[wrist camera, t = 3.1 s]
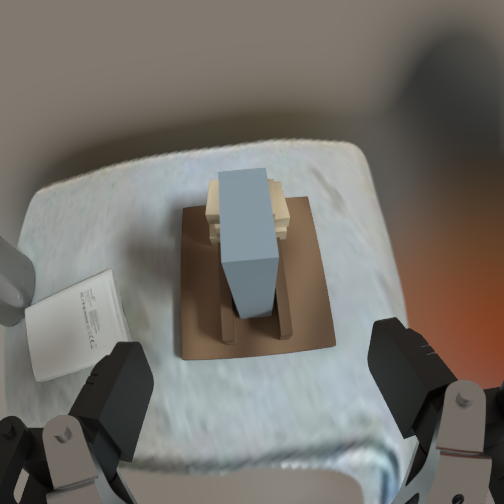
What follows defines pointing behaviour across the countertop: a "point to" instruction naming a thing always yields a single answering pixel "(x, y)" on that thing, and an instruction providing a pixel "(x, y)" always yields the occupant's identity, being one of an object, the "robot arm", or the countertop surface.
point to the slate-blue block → (248, 240)
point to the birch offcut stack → (277, 203)
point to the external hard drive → (76, 327)
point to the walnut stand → (284, 304)
